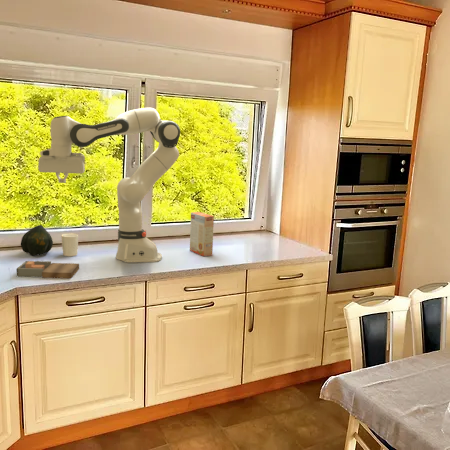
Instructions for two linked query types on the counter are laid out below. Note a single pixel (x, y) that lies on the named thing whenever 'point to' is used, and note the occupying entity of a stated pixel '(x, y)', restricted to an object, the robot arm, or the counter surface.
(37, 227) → the squash
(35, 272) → the tray
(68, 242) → the white cup
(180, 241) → the counter surface
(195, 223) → the cracker box
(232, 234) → the counter surface
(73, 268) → the wooden board
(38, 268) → the tile
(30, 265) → the tile
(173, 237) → the counter surface
